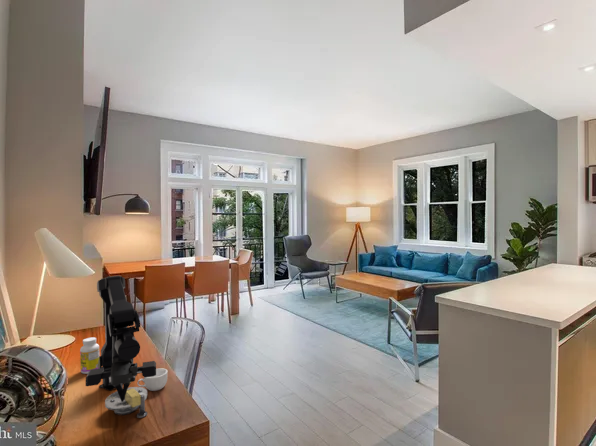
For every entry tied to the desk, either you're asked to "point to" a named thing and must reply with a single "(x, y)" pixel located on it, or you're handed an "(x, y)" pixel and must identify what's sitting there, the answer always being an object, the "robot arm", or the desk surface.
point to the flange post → (126, 411)
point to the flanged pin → (142, 407)
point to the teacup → (155, 380)
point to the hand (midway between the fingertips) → (122, 401)
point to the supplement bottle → (89, 355)
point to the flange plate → (118, 402)
